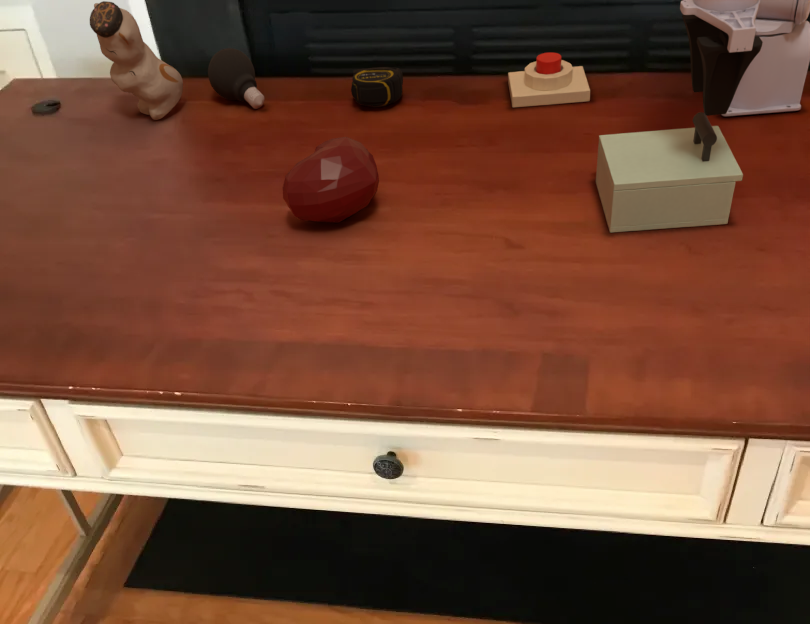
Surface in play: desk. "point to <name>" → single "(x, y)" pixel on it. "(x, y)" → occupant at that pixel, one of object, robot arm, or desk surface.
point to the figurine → (135, 61)
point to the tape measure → (377, 86)
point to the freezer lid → (669, 157)
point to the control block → (548, 86)
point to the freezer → (662, 204)
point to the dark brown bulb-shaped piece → (234, 77)
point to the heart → (332, 182)
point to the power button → (548, 63)
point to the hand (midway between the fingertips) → (709, 101)
